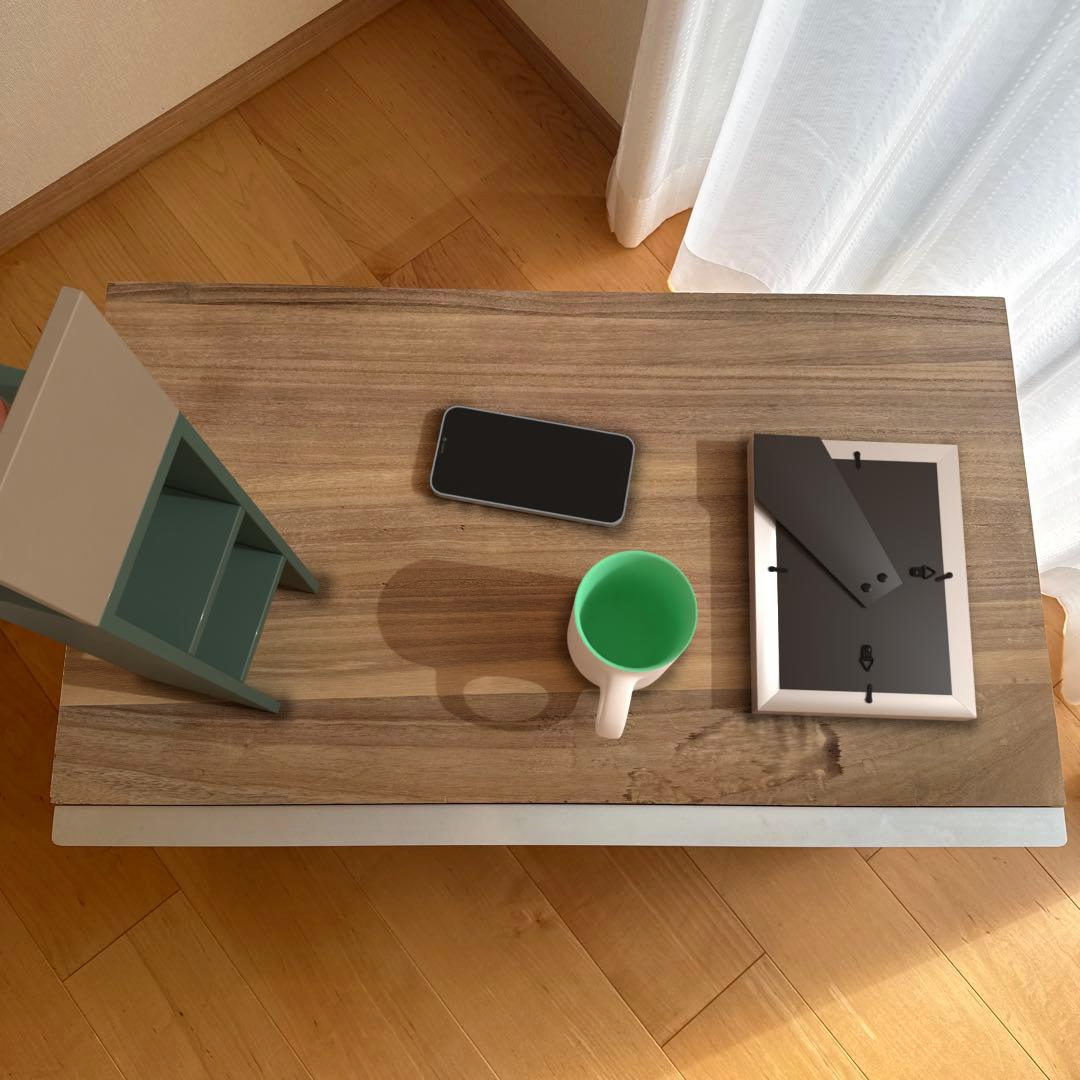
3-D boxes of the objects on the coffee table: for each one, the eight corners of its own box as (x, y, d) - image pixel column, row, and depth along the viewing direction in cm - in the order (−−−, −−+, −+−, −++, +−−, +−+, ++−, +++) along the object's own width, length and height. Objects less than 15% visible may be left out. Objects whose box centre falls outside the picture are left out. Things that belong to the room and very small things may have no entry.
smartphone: (622, 527, 82) (427, 492, 82) (621, 530, 83) (427, 496, 83) (637, 436, 84) (446, 402, 84) (635, 440, 85) (446, 407, 85)
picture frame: (746, 446, 85) (751, 713, 80) (754, 433, 82) (759, 709, 77) (947, 453, 85) (965, 721, 80) (961, 441, 82) (981, 717, 77)
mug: (662, 753, 79) (683, 742, 69) (552, 737, 79) (557, 723, 69) (680, 592, 82) (703, 559, 72) (575, 577, 82) (582, 542, 72)
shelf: (147, 678, 79) (-324, 486, 35) (193, 550, 82) (-191, 219, 38) (277, 713, 79) (-31, 565, 35) (320, 584, 82) (83, 289, 37)
